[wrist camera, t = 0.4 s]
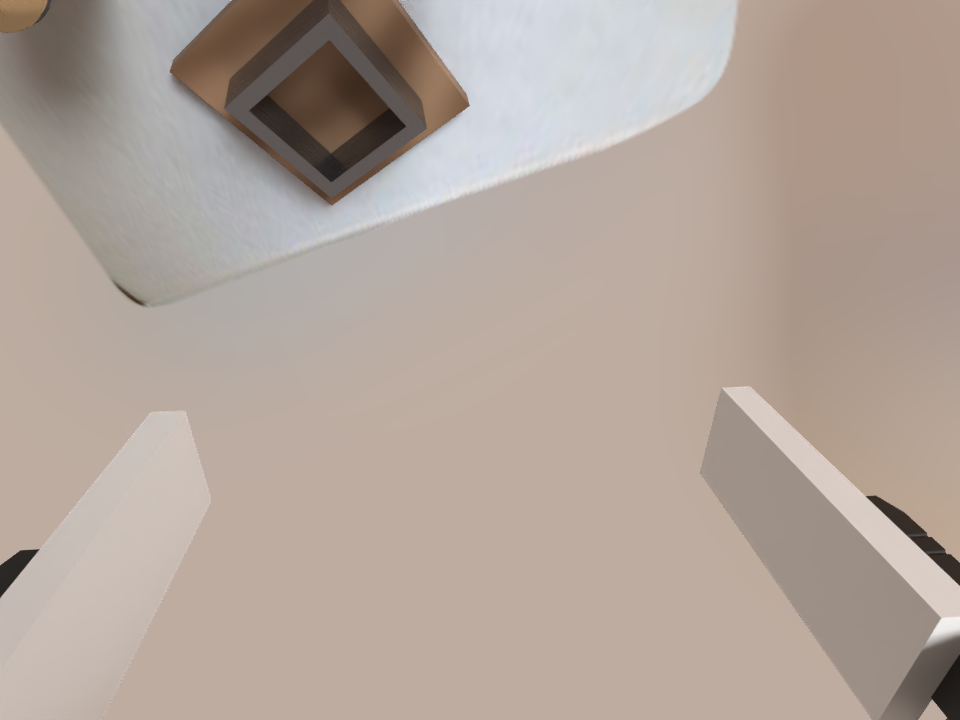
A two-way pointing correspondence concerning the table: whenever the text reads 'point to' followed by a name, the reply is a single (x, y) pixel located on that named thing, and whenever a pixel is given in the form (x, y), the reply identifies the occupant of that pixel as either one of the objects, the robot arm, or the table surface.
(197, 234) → the table surface
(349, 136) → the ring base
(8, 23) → the gold canister
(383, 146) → the grey square frame
